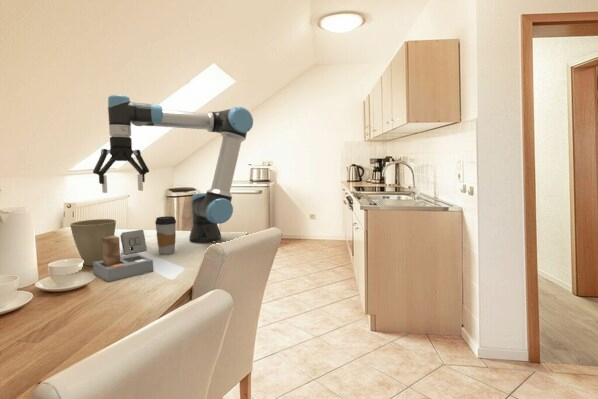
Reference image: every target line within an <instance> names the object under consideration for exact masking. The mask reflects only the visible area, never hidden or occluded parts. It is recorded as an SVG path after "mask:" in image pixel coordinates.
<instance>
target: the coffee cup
mask: <svg viewBox="0 0 598 399" xmlns="http://www.w3.org/2000/svg"><path fill="white" fill-rule="evenodd" d="M154 223H155V230H156V240H157V242H156V243H157V249H158V252H159V254H160V255H171V254H174V253H175V251H176V250H175V249H176V234H177V232H176V225H177V220H176V217H175V216H170V215H169V216H167V215H166V216H159V217H156V218H155V222H154Z"/></svg>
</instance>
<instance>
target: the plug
mask: <svg viewBox="0 0 598 399" xmlns="http://www.w3.org/2000/svg"><path fill="white" fill-rule="evenodd" d="M102 247H103V264H104V266H105V267H108V266H111V265H116V264H121V263H120V257H121V250H120V249H121V247H120V237H119V236H116V235H114V236H108V237H102Z"/></svg>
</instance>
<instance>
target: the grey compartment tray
mask: <svg viewBox="0 0 598 399" xmlns="http://www.w3.org/2000/svg"><path fill="white" fill-rule="evenodd" d="M120 263H121V264H116V265H111V266H108V267H105V266H104V264H103V260H101V261H95V262H93V266H92V269H93V274H94V275H96V276H98V277H99V278H100V279H101V278H102V279H103V280H104V281H106V282H113V281H116V280H121V279H126V278H130V277H134V276H138V275H142V274H147V273H151V272H153V271H154V260H153V259H151V258H148V257H146V256H144V255H140V254H138V253H131V254H126V255H122V256H120Z"/></svg>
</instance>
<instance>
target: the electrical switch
mask: <svg viewBox="0 0 598 399" xmlns="http://www.w3.org/2000/svg"><path fill="white" fill-rule="evenodd" d="M119 236H120V237H119V238H120V242H121V245H122V252H123V254H124V255H132V254H137V253H140V252H145V251H147V249H148V248H147V243H146V238H145V232H144V230H143V229H138V230H137V229H136V230H130V231H124V232H121V234H120V235H119Z"/></svg>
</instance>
